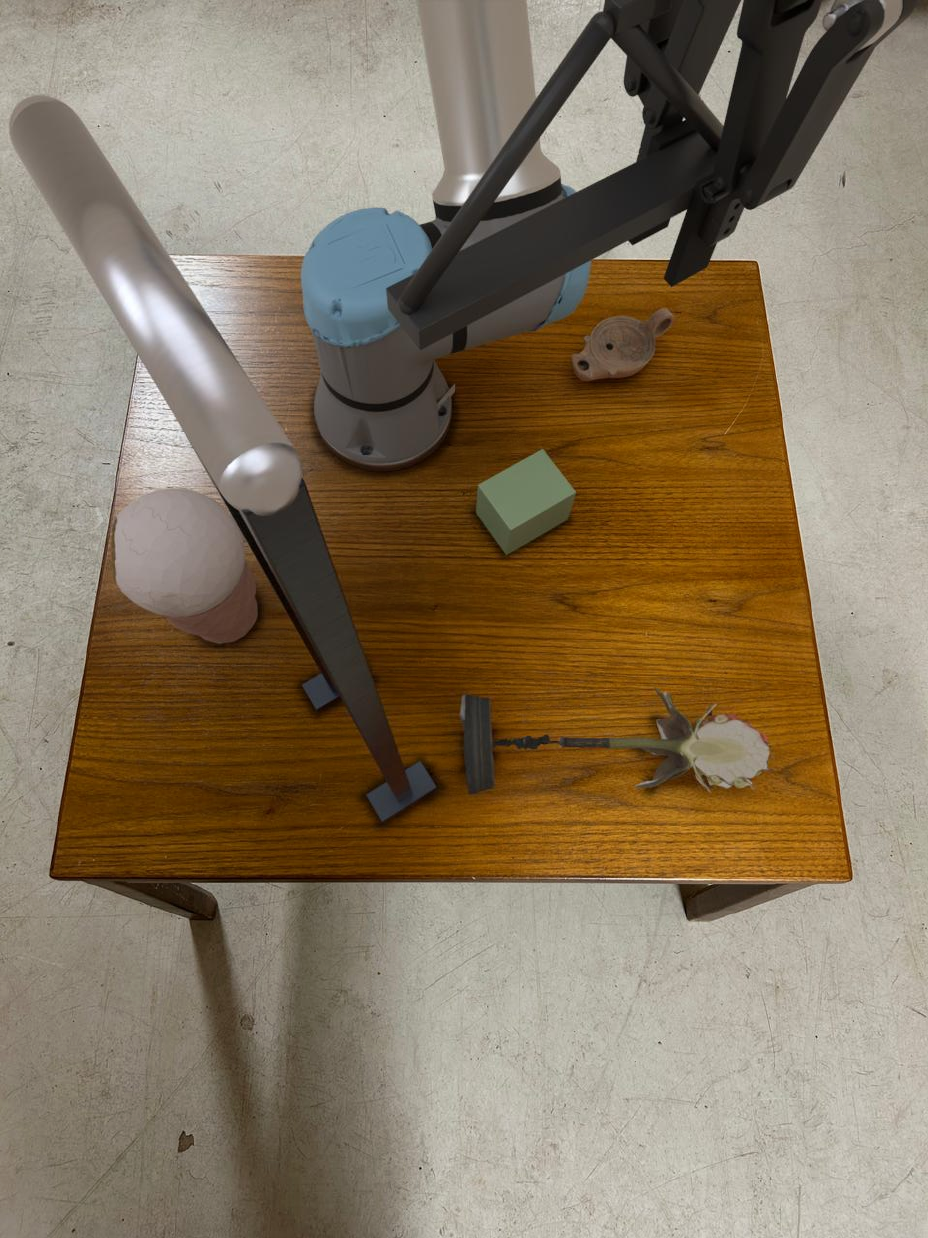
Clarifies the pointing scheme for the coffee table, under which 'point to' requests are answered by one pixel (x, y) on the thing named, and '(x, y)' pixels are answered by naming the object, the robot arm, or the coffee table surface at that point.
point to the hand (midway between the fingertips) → (665, 251)
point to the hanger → (575, 225)
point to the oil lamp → (620, 346)
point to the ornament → (636, 746)
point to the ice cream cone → (185, 563)
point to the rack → (214, 418)
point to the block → (524, 501)
